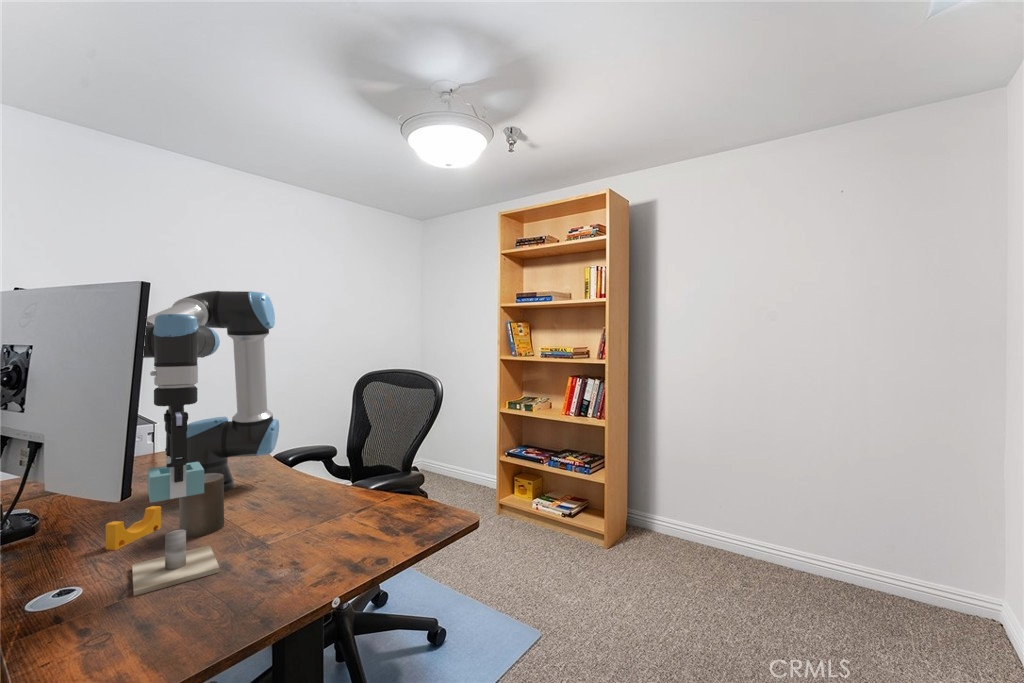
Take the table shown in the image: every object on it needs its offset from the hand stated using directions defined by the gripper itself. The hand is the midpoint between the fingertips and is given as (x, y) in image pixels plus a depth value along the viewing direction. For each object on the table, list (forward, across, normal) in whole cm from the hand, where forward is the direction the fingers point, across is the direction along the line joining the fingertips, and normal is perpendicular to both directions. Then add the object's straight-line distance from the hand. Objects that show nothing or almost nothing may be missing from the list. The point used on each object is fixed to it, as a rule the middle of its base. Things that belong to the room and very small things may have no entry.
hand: (175, 491), depth 96 cm
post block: (+17, 0, 0) cm, 17 cm away
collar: (0, 0, 0) cm, 0 cm away
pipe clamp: (+17, -26, -7) cm, 32 cm away
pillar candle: (+17, -21, +7) cm, 28 cm away
